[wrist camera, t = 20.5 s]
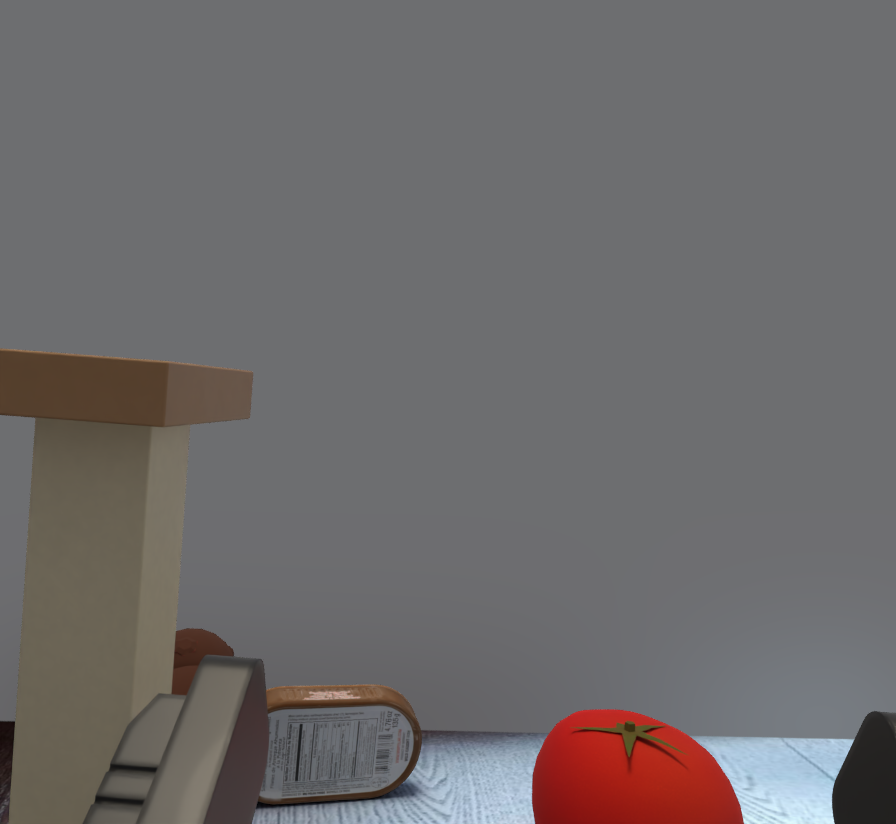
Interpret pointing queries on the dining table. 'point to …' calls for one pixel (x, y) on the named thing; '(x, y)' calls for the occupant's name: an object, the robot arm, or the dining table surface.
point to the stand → (100, 556)
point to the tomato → (628, 774)
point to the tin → (338, 743)
